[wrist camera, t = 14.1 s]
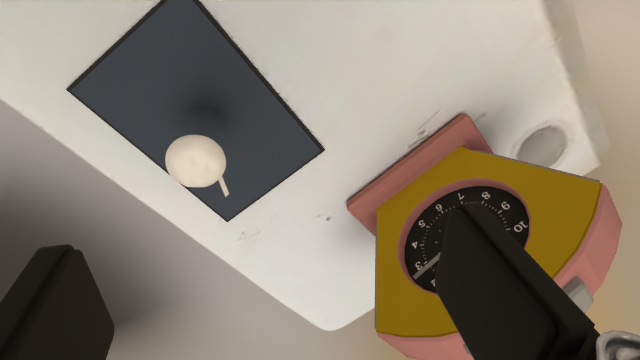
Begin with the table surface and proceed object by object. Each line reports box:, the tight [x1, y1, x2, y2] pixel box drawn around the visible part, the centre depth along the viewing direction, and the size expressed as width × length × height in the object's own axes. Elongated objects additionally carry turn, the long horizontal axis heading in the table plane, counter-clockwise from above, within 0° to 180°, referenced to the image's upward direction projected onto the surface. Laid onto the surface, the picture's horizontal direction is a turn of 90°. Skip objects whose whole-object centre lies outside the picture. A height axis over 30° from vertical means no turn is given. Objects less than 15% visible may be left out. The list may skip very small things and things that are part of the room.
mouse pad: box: [66, 0, 325, 222], centre depth 36 cm, size 20×14×1 cm
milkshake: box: [165, 107, 229, 197], centre depth 32 cm, size 4×5×10 cm
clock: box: [346, 114, 622, 360], centre depth 36 cm, size 22×9×22 cm, turn 130°
